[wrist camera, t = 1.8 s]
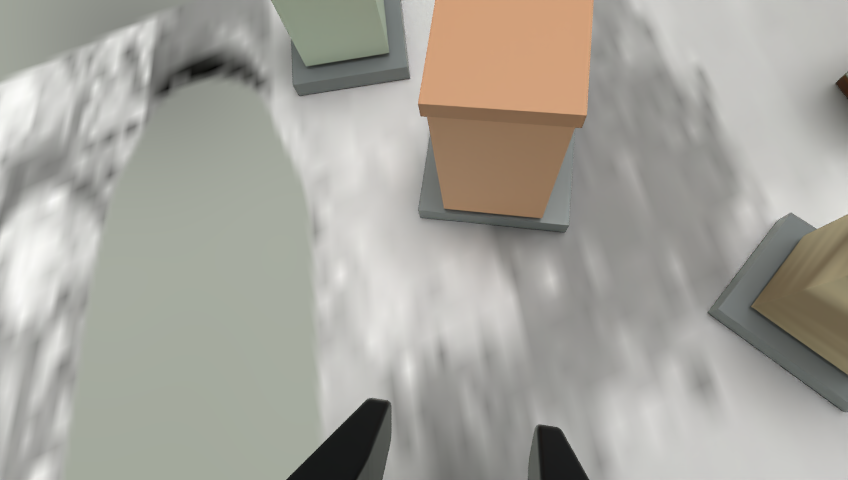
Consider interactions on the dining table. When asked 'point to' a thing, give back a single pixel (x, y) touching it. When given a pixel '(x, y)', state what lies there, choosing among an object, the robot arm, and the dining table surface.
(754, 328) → the oak key base
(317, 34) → the sage key
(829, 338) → the oak key
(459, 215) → the terracotta key base
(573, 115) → the orange rectangular block
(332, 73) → the sage key base
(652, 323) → the dining table surface
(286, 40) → the dining table surface
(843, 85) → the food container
